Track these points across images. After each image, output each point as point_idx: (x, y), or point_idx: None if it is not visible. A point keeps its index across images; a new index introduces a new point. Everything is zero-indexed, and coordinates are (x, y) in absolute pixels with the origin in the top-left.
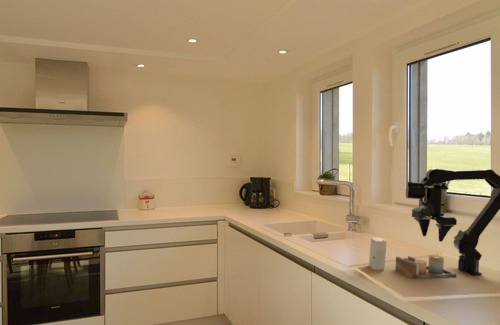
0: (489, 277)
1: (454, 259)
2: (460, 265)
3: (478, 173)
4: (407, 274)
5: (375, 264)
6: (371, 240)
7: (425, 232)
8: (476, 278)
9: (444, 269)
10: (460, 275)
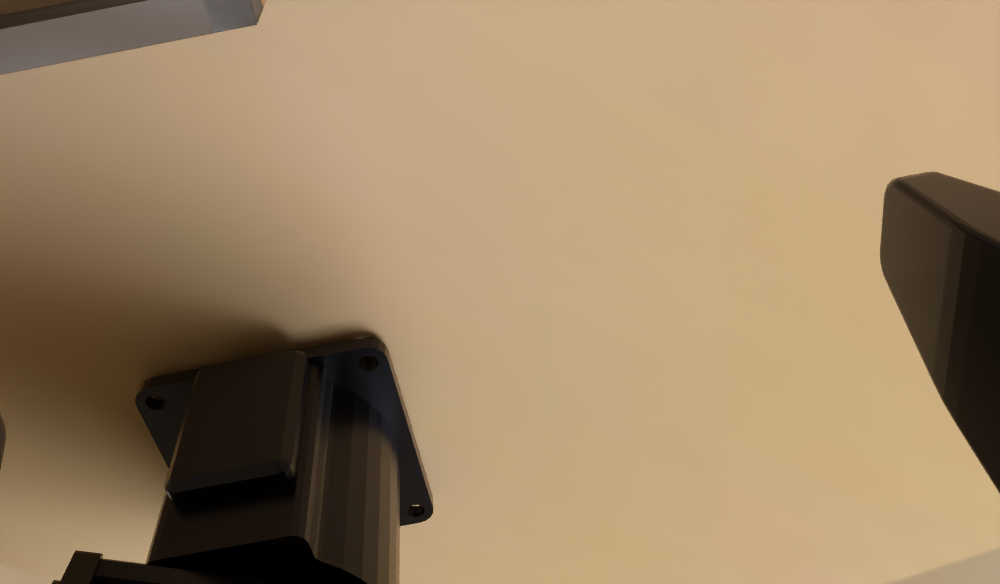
0: None
1: (896, 546)
2: (238, 412)
3: None
4: None
5: None
6: None
7: (955, 347)
8: (21, 414)
9: (9, 57)
10: (104, 276)
